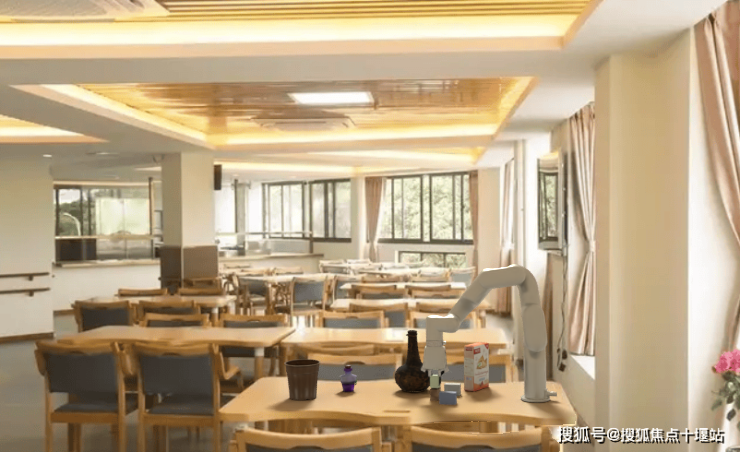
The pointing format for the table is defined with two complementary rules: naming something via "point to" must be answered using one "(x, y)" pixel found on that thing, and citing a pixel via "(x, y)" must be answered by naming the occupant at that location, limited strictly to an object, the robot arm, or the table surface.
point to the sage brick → (434, 381)
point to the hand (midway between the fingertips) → (435, 384)
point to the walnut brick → (434, 394)
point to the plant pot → (302, 378)
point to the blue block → (448, 397)
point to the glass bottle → (412, 368)
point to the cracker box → (476, 366)
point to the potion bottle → (348, 379)
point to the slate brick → (453, 387)
